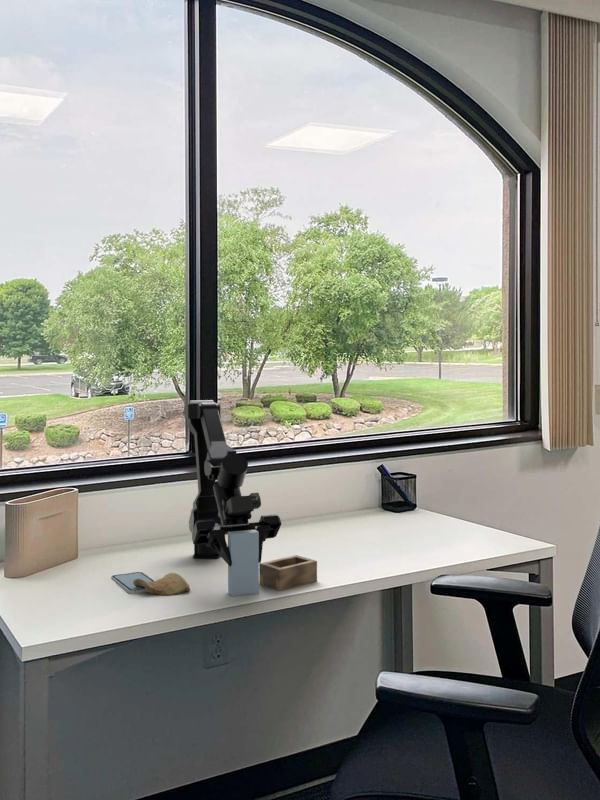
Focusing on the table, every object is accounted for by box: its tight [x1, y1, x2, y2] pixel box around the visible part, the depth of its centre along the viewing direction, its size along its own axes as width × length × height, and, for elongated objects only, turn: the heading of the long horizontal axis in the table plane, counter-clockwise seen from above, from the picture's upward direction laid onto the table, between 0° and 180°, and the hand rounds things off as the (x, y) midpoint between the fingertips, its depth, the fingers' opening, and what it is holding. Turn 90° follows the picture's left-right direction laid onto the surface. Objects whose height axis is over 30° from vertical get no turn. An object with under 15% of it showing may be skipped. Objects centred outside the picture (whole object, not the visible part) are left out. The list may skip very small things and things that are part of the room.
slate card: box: [227, 530, 260, 597], centre depth 165 cm, size 6×2×13 cm, turn 112°
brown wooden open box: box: [259, 554, 318, 592], centre depth 173 cm, size 11×7×4 cm, turn 132°
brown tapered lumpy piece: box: [133, 572, 191, 596], centre depth 168 cm, size 11×4×10 cm
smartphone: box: [110, 571, 155, 595], centre depth 173 cm, size 7×1×15 cm
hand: (245, 563), depth 164 cm, fingers closed on slate card, 6 cm apart
